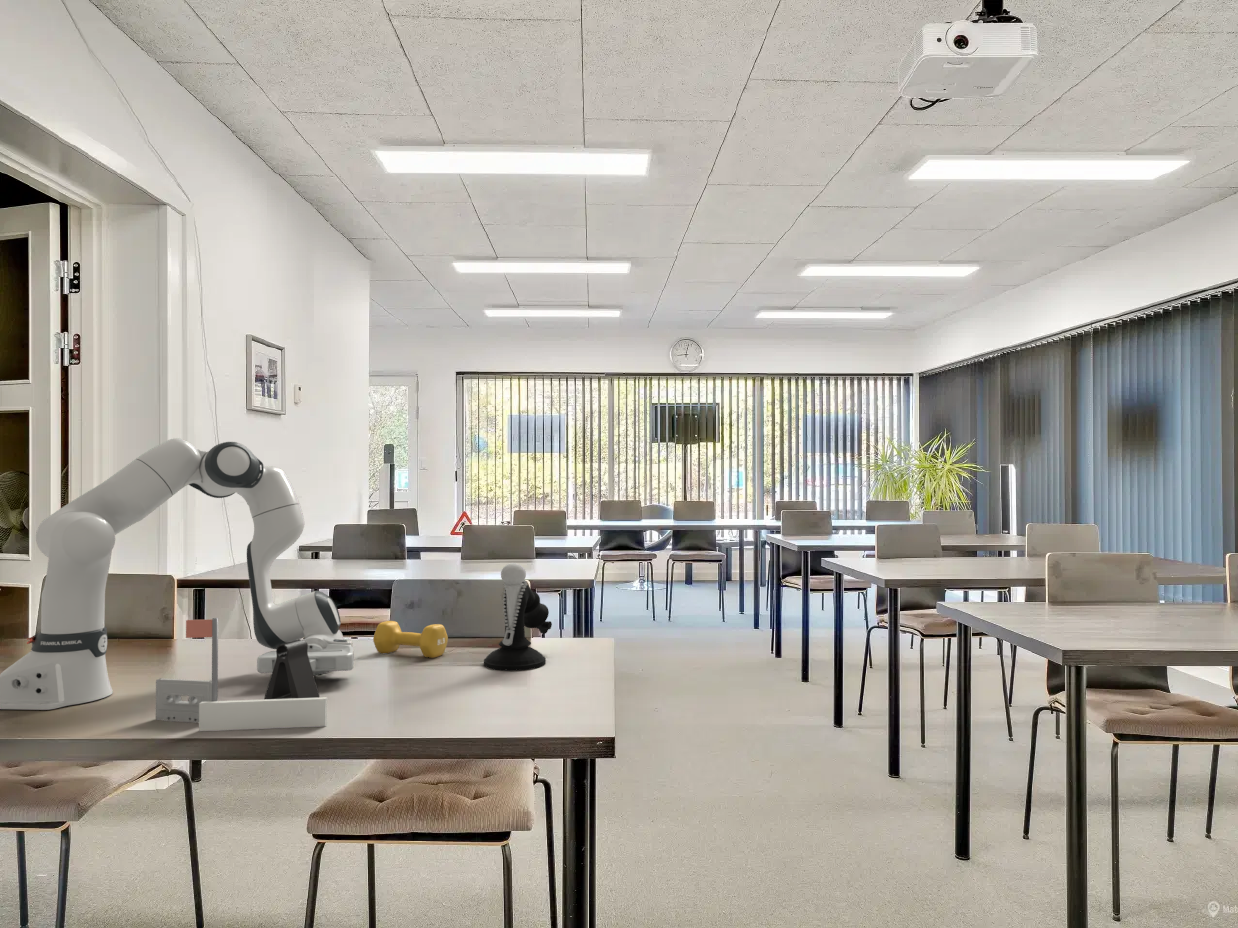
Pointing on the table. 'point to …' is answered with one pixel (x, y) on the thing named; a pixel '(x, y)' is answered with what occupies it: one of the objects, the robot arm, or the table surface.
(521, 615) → the sculpture
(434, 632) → the dumbbell
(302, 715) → the flag on white base
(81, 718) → the table surface
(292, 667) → the phone stand
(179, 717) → the cassette
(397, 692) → the table surface
